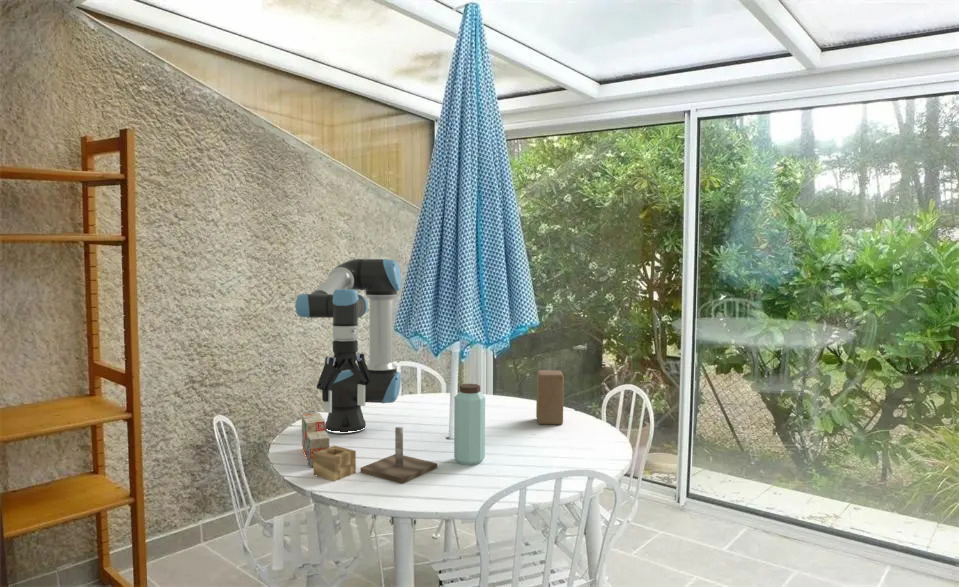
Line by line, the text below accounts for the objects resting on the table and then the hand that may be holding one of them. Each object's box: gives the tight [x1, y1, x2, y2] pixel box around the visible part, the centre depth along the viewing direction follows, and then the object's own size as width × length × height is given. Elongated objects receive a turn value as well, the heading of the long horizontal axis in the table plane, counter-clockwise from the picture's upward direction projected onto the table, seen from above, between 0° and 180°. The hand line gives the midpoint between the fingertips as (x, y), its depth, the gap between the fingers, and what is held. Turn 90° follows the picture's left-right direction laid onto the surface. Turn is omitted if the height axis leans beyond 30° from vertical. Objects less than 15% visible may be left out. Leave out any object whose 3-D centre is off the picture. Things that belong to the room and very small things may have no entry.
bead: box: [312, 445, 357, 482], centre depth 210 cm, size 9×9×7 cm
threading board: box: [359, 426, 438, 485], centre depth 214 cm, size 17×17×14 cm
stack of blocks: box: [301, 412, 330, 468], centre depth 226 cm, size 21×6×12 cm, turn 21°
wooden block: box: [535, 369, 565, 426], centre depth 272 cm, size 10×10×20 cm
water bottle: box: [453, 383, 486, 466], centre depth 223 cm, size 10×10×25 cm
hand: (344, 408), depth 209 cm, fingers open, 13 cm apart
